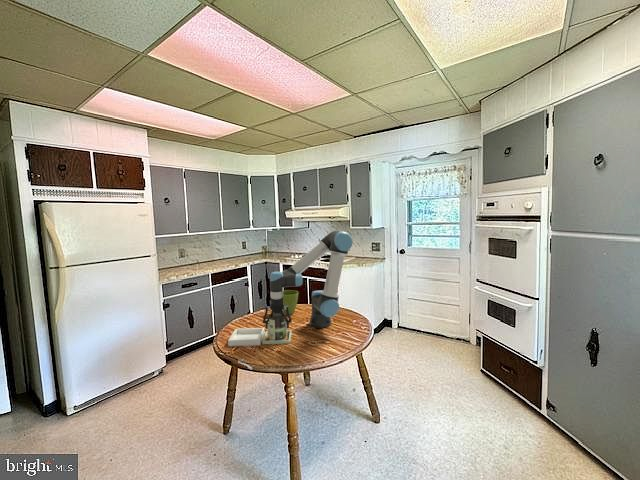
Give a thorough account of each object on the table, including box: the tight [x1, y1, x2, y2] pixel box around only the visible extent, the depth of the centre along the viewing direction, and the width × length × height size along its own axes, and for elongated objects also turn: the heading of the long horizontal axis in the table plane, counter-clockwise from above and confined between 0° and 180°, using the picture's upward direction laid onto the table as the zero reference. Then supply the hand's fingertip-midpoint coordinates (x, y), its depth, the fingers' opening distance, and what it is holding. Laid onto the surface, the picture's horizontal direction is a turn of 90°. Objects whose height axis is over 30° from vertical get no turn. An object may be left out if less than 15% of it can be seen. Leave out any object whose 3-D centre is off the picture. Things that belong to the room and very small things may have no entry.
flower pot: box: [283, 289, 299, 315], centre depth 227 cm, size 15×15×16 cm
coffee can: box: [268, 313, 287, 341], centre depth 181 cm, size 10×10×14 cm
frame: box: [261, 329, 293, 345], centre depth 181 cm, size 16×16×2 cm
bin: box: [227, 327, 266, 347], centre depth 179 cm, size 18×18×4 cm
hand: (277, 333), depth 181 cm, fingers closed on coffee can, 10 cm apart
